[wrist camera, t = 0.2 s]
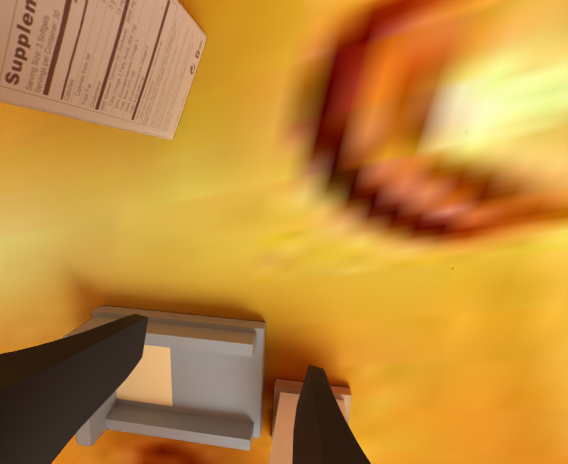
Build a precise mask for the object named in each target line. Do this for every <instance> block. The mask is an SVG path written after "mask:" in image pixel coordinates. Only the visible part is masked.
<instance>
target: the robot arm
mask: <svg viewBox="0 0 568 464" xmlns="http://www.w3.org/2000/svg"><path fill="white" fill-rule="evenodd" d="M147 324H148V317H146V316H142V315H139V314H132V315H129V316H126V317H123V318H120V319H118V320H115V321H112V322H109V323H107V324H104V325H101V326H98V327H95V328H93V329H90V330H87V331H84V332H81V333H78V334H75V335H72V336H69V337H66V338H62V339H59V340H56V341H53V342H49V343H46V344H42V345H38V346H34V347H30V348H26V349H22V350H18V351H14V352H9V353H3V354H0V464H51V463H52V462H53V460H54V459H55V458H56V457H57V455H58V454H59V453H60V452H61V450H62V449H63V448H64V447H65V445H66V444H67V443H68V442H69V441H70V439H71V438H72V437H73V436H74V435H75V434H76V432H77V431H78V430H79V429H80V428H81V427H82V426H83V425H84V424H85V423H86V422H87V420H88V419H89V418H90V417H91V416H92V415H93V414H94V413H95V412H96V411H97V410H98V409H99V408H100V407H101V406H102V405H103V404H104V403H105V401H106V400H107V399H108V398H109V397H110V396H111V395H112V394H113V393H114V392H115V391H116V390H117V389H118V388H119V387H120V385H121V384H122V383H123V382H124V381H125V380H126V379H127V378H128V376H129V375H130V374H131V372H132V371H133V370H134V368H135V367H136V366H137V364H138V363H139V361H140V360H141V359H142V356H143V350H144V343H145V337H146V330H147ZM292 464H371V463H370V462H369V460H368V459H367V457H366V455H365V454H364V452H363V451H362V449H361V447H360V446H359V444H358V442H357V441H356V439H355V437H354V435H353V433H352V432H351V430H350V428H349V426H348V424H347V422H346V420H345V418H344V416H343V414H342V412H341V410H340V407H339V405H338V403H337V401H336V399H335V396H334V394H333V391H332V389H331V387H330V384H329V382H328V379H327V376H326V374H325V371H324V369H322V368H318V367H315V366H311V365H309V367H308V370H307V373H306V377H305V380H304V383H303V386H302V389H301V393H300V396H299V399H298V402H297V407H296V414H295V422H294V429H293V456H292Z"/></svg>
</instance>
